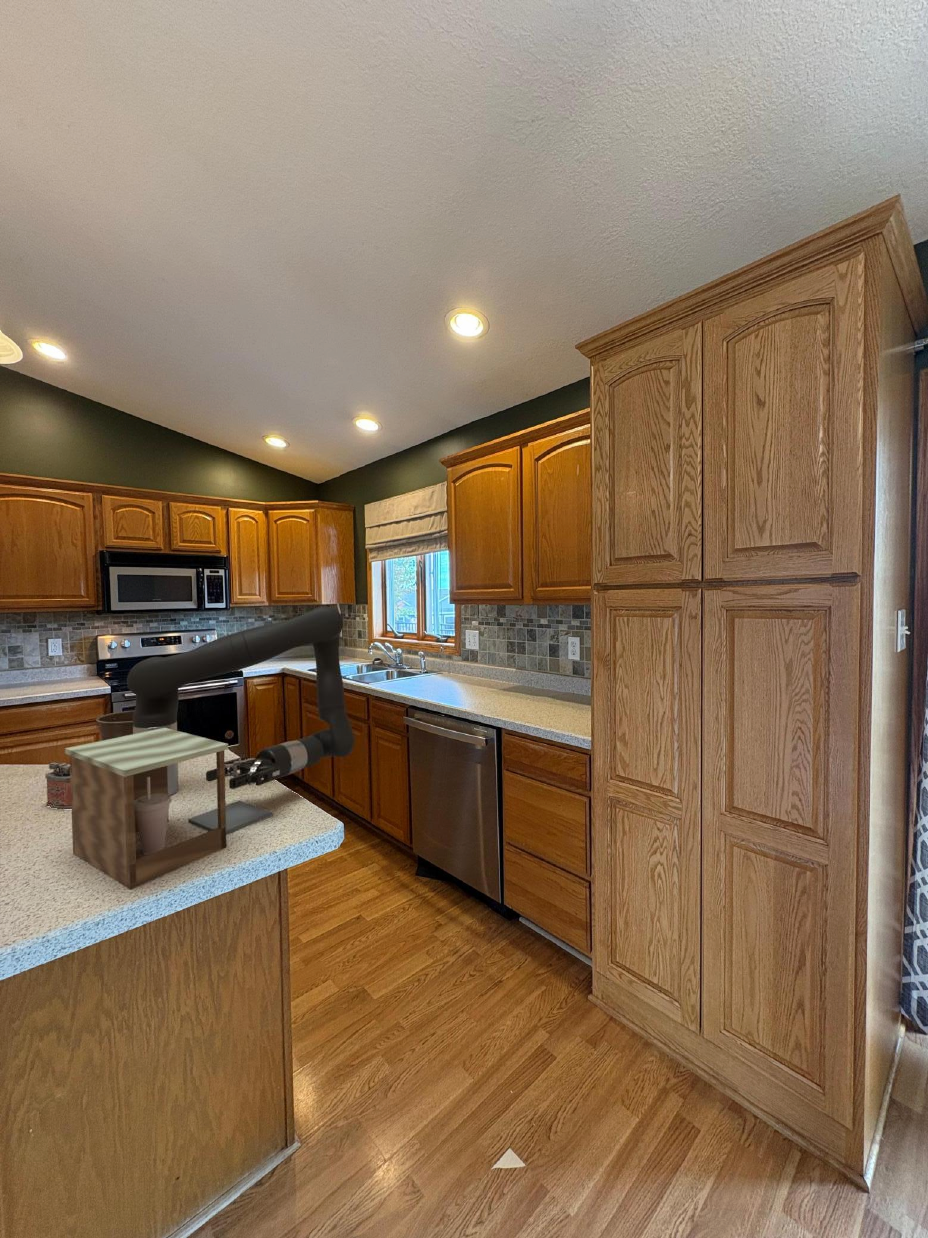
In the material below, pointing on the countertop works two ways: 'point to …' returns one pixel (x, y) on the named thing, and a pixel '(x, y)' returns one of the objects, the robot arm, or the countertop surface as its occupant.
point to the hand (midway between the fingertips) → (218, 780)
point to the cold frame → (110, 788)
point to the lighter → (59, 786)
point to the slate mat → (231, 817)
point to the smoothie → (152, 820)
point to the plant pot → (116, 725)
